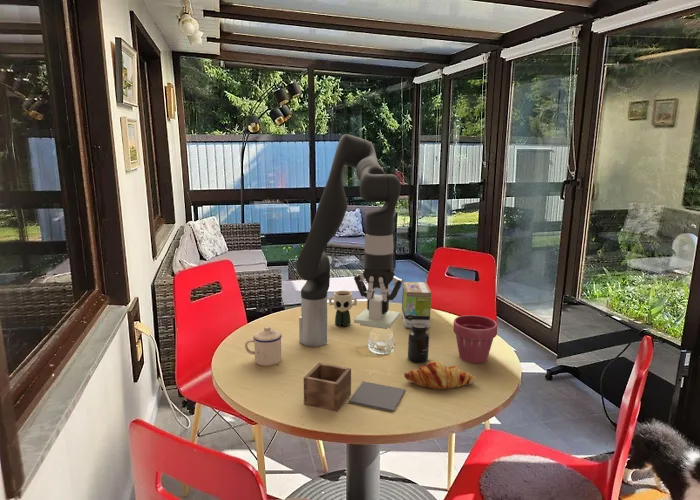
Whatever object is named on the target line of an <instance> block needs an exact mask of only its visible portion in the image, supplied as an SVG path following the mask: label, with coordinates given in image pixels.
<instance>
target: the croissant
mask: <svg viewBox="0 0 700 500" xmlns="http://www.w3.org/2000/svg"><path fill="white" fill-rule="evenodd" d="M418 367H419V366H418ZM403 375H404V377H403V378H405V380H408V381H409V382H411V383H414V384H415V385H417V386H420V387H421V388H422V387H423V388H427V389H433V390H437V389H439V390H448V389H453V388H460V387H463V386H464V385H466V386H469V385H471V384H473V383H475V382H476V377H475V376H473V375H472V374H471V373H469V372H468V371H462V370H461V369H459V368H458V367H457V366H456V365H453V366H452V365H451V366H447V365H445V364H444V363H443V362H440V361H429V362H427V363H426V365H422V366H420V367H419V368H418V369H412V370H409V371H408V372H404V374H403Z"/></svg>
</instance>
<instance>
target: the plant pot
mask: <svg viewBox="0 0 700 500" xmlns="http://www.w3.org/2000/svg"><path fill="white" fill-rule="evenodd" d="M452 329H453V333H454V334H455V337H456V344H457V348H458V349H457V350H458V355H459V358H460V359H461V360H462V361H464V362H466V363H471V364H482V363H485V362H487V360H488V357H489V354H490V351H491V348H492V345H493V341H494V339H495V338H496V337H497V334H498V323H497V322H496V321H495V320H494V319H493V318H489V317H488V316H482V315H474V314H467V315H466V314H465V315H460V316H457V317H456V318H454V320H453V327H452Z"/></svg>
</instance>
